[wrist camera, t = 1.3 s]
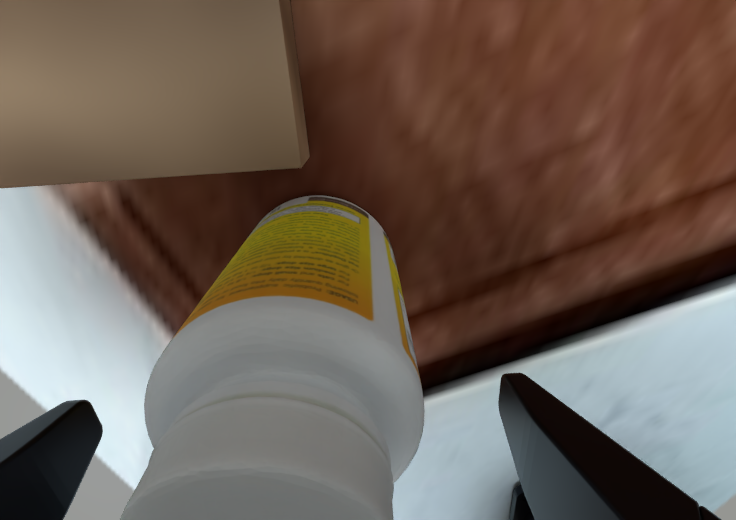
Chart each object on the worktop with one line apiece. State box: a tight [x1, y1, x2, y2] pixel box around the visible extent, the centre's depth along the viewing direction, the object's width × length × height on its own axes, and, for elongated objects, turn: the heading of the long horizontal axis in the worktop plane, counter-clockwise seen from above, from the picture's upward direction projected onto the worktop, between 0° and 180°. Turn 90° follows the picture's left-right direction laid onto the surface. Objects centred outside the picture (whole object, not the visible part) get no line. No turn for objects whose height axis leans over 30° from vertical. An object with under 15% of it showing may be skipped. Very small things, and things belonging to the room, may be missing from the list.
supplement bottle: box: [120, 195, 424, 520], centre depth 10 cm, size 6×6×10 cm
